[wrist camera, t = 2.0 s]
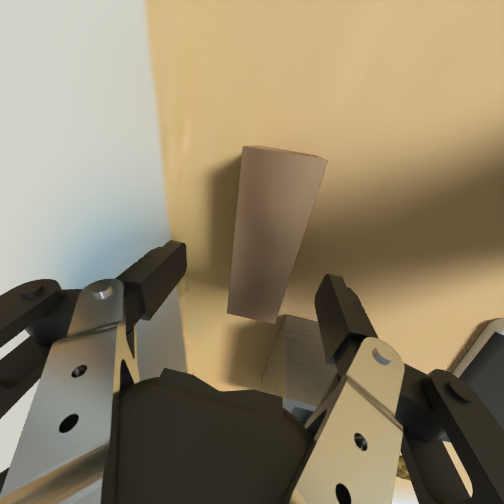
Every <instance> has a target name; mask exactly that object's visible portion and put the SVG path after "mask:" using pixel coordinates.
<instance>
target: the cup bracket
mask: <svg viewBox="0 0 504 504" xmlns="http://www.w3.org/2000/svg"><path fill="white" fill-rule="evenodd" d="M336 373H337V367H336V365H332V364H328V363H326V358H325V353H324V348H323V343H322V338H321V333H320V328H319V323H318V322H315V321H311V320H307V319H303V318H298V317H294V316H290V315H286V316H285V319H284V322H283V324H282V327H281V329H280V332H279V335H278V337H277V340H276V342H275V345H274V348H273V350H272V353H271V356H270V358H269V361H268V363H267V366H266V369H265V371H264V374H263V377H262V380H261V390H260V391H261V392H265V393H269V394H273V395H277V396H281V397H283V408H285V409H286V410H288V411H289V412H290V413H292V414H293V415H294V416H295V417H296V418H297V419H298V420H299V421H300V422H301V423H302V424H303V426H305V424H306V422H307V421H308V419H309V418H310V416H311V415H312V414H313V412H314V411H315V409H316V407H317V406H318V404H319V402H320V400H321V399H322V397H323V395H324V393H325V391H326V390H327V388H328V386H329V384H330V383H331V381H332V379H333V377H334V375H335V374H336Z"/></svg>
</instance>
